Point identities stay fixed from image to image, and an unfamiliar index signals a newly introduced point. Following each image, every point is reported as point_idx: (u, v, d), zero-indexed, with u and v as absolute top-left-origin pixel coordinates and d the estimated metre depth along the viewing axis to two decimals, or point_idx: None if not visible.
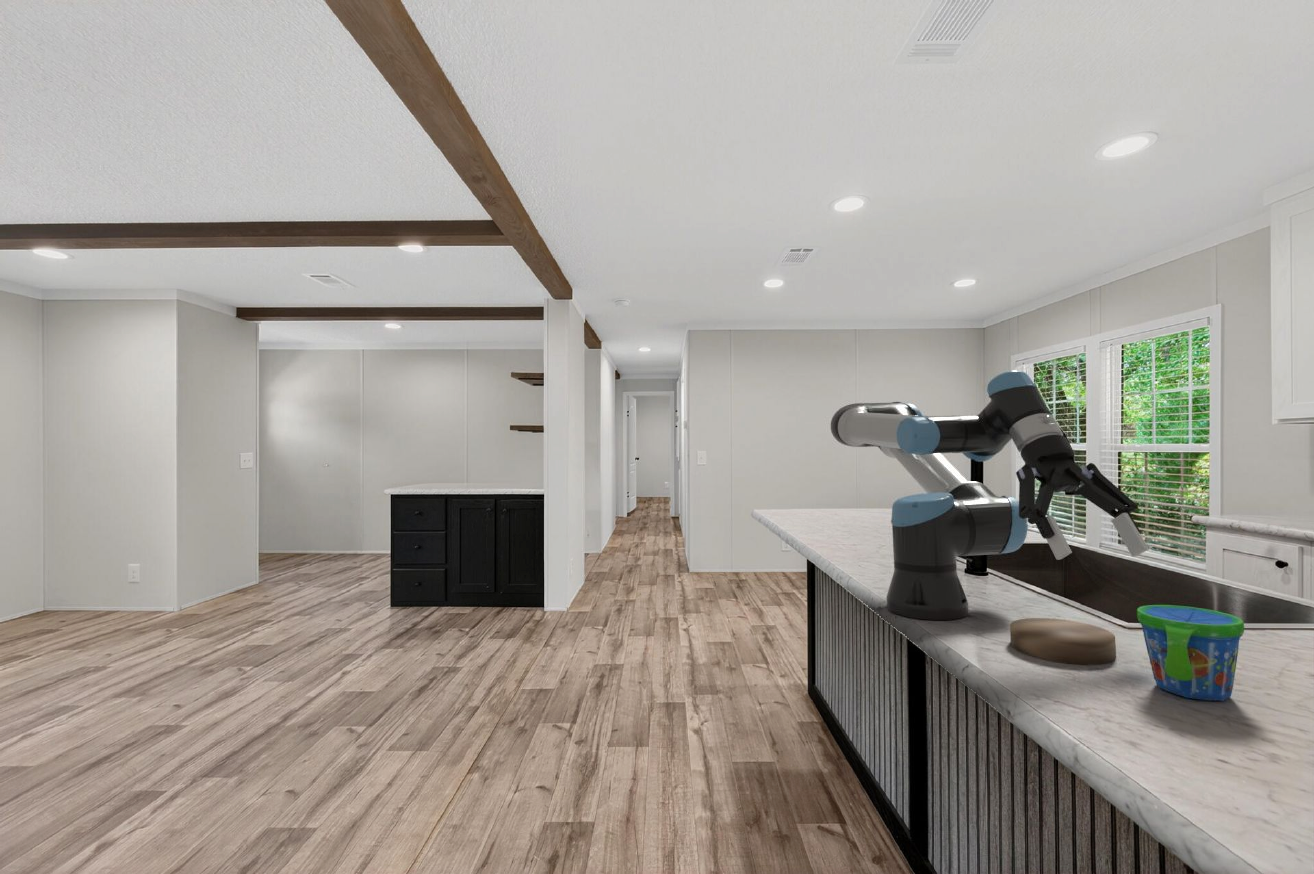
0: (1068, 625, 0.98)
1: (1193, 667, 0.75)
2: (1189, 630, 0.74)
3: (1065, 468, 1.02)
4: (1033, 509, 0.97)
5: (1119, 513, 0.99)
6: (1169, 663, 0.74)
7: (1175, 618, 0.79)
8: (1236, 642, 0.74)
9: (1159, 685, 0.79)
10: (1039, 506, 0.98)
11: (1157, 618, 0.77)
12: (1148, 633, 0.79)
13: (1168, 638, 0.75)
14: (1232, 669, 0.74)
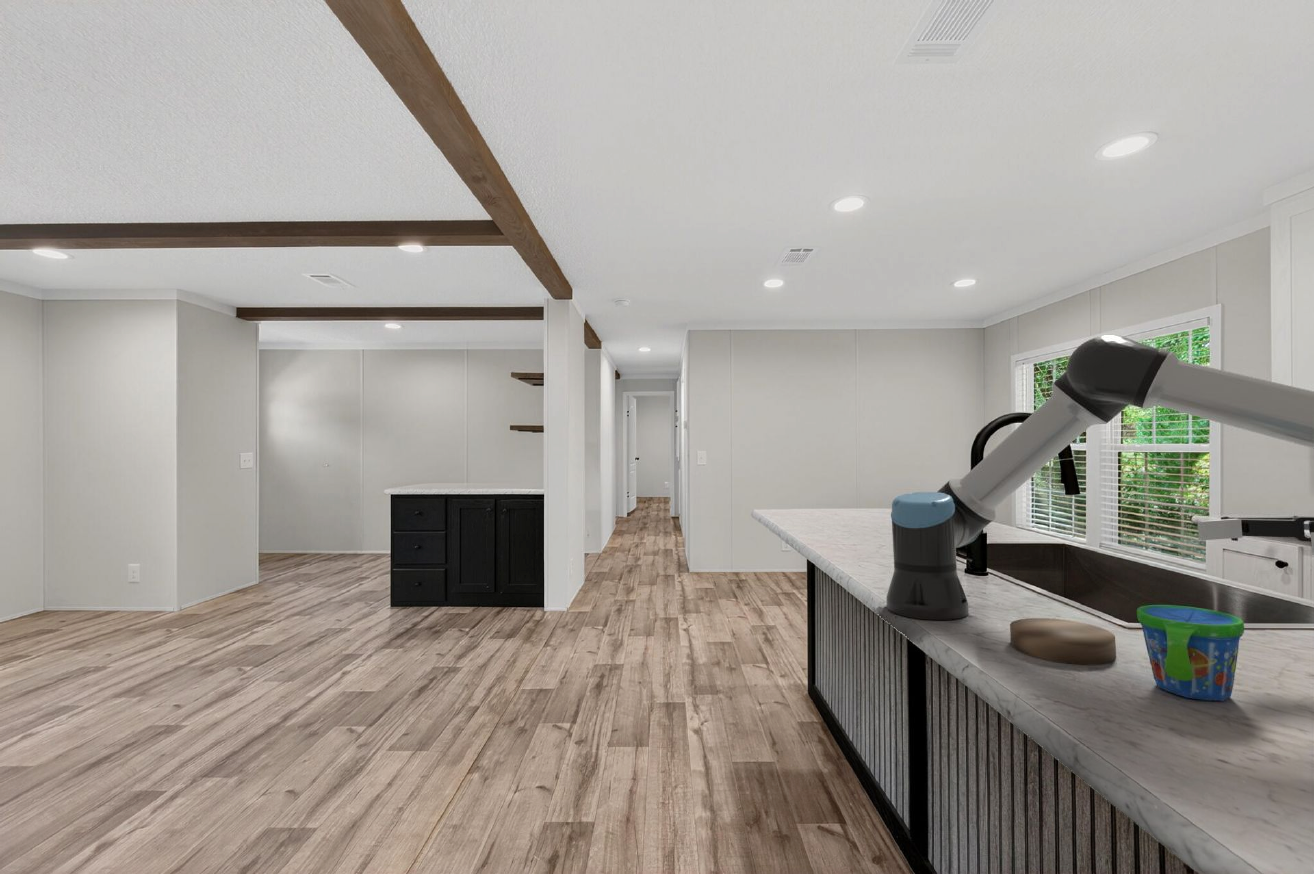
0: (1068, 625, 0.98)
1: (1193, 667, 0.75)
2: (1189, 630, 0.74)
3: None
4: None
5: None
6: (1169, 663, 0.74)
7: (1175, 618, 0.79)
8: (1236, 642, 0.74)
9: (1159, 685, 0.79)
10: None
11: (1157, 618, 0.77)
12: (1148, 633, 0.79)
13: (1168, 638, 0.75)
14: (1232, 669, 0.74)
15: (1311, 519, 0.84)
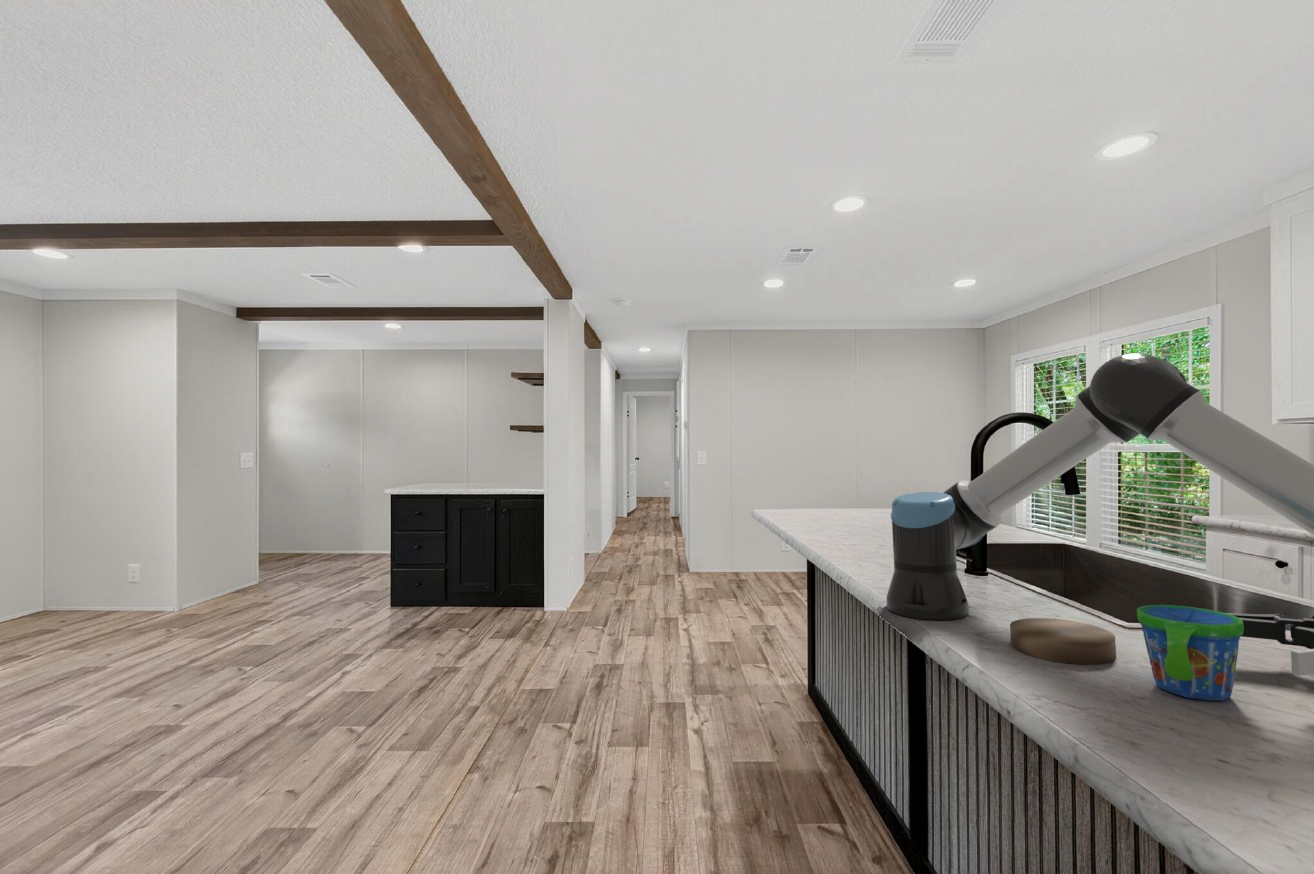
0: (1068, 625, 0.98)
1: (1193, 667, 0.75)
2: (1189, 630, 0.74)
3: None
4: None
5: None
6: (1169, 663, 0.74)
7: (1175, 618, 0.79)
8: (1236, 642, 0.74)
9: (1159, 685, 0.79)
10: None
11: (1157, 618, 0.77)
12: (1148, 633, 0.79)
13: (1168, 638, 0.75)
14: (1232, 669, 0.74)
15: (1292, 622, 0.83)
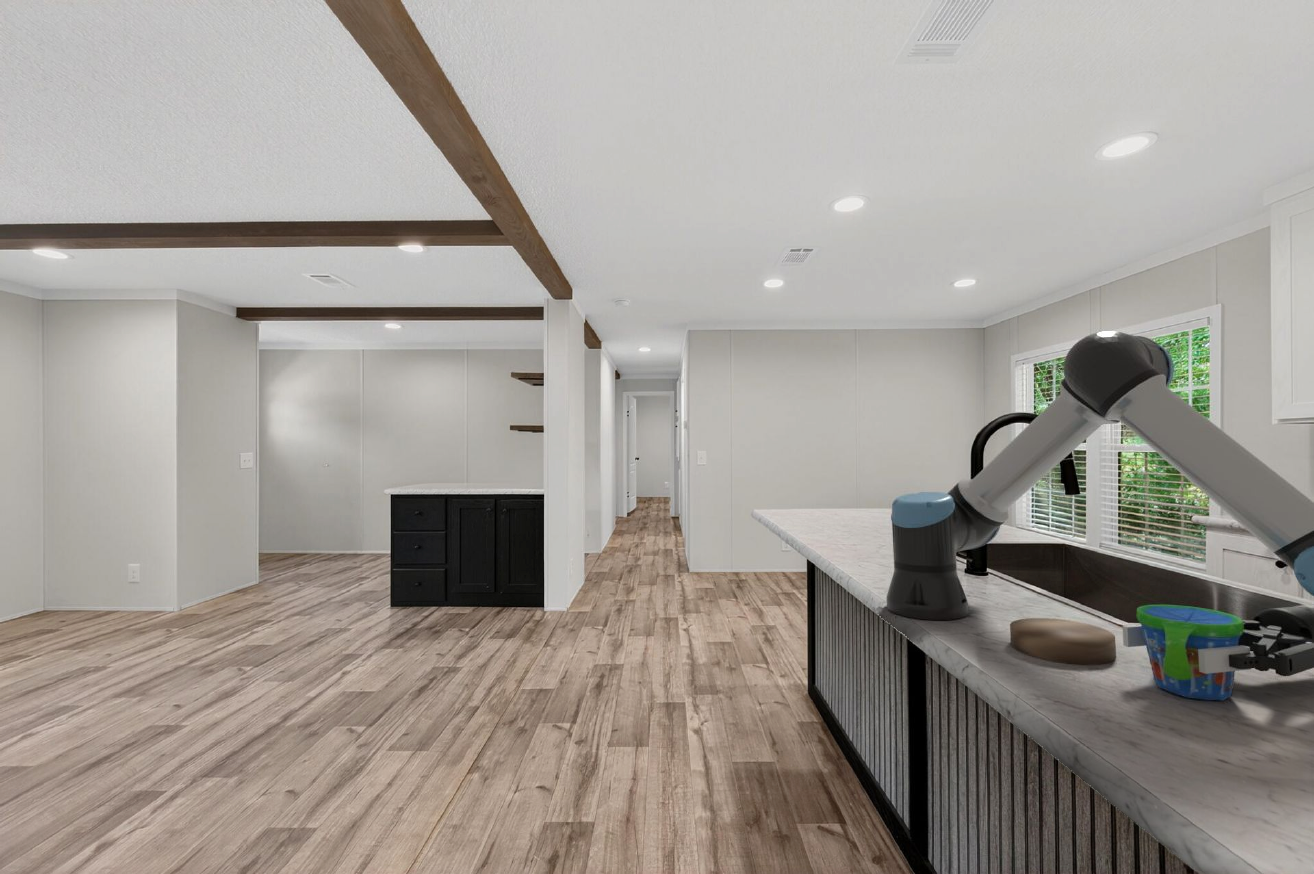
0: (1068, 625, 0.98)
1: (1192, 666, 0.75)
2: (1187, 629, 0.74)
3: None
4: None
5: None
6: (1168, 663, 0.74)
7: (1175, 618, 0.79)
8: (1235, 642, 0.74)
9: (1159, 685, 0.79)
10: None
11: (1156, 618, 0.77)
12: (1148, 633, 0.79)
13: (1166, 637, 0.75)
14: None
15: None
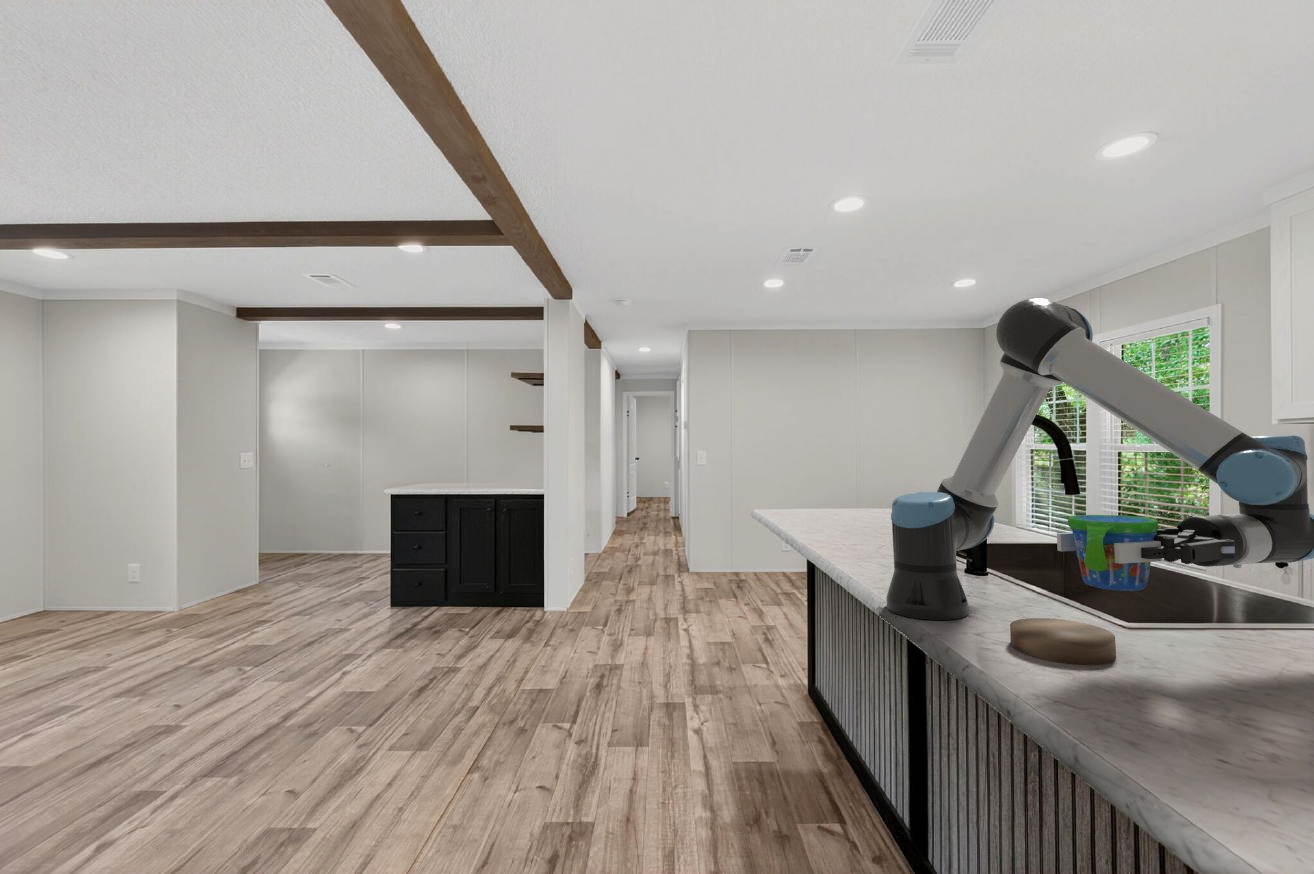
0: (1068, 625, 0.98)
1: (1111, 561, 0.85)
2: (1106, 527, 0.84)
3: None
4: (1183, 562, 0.81)
5: None
6: (1088, 556, 0.84)
7: None
8: (1149, 538, 0.84)
9: (1085, 581, 0.89)
10: None
11: (1081, 520, 0.87)
12: (1076, 536, 0.89)
13: (1088, 535, 0.84)
14: (1145, 563, 0.84)
15: (1157, 531, 0.91)
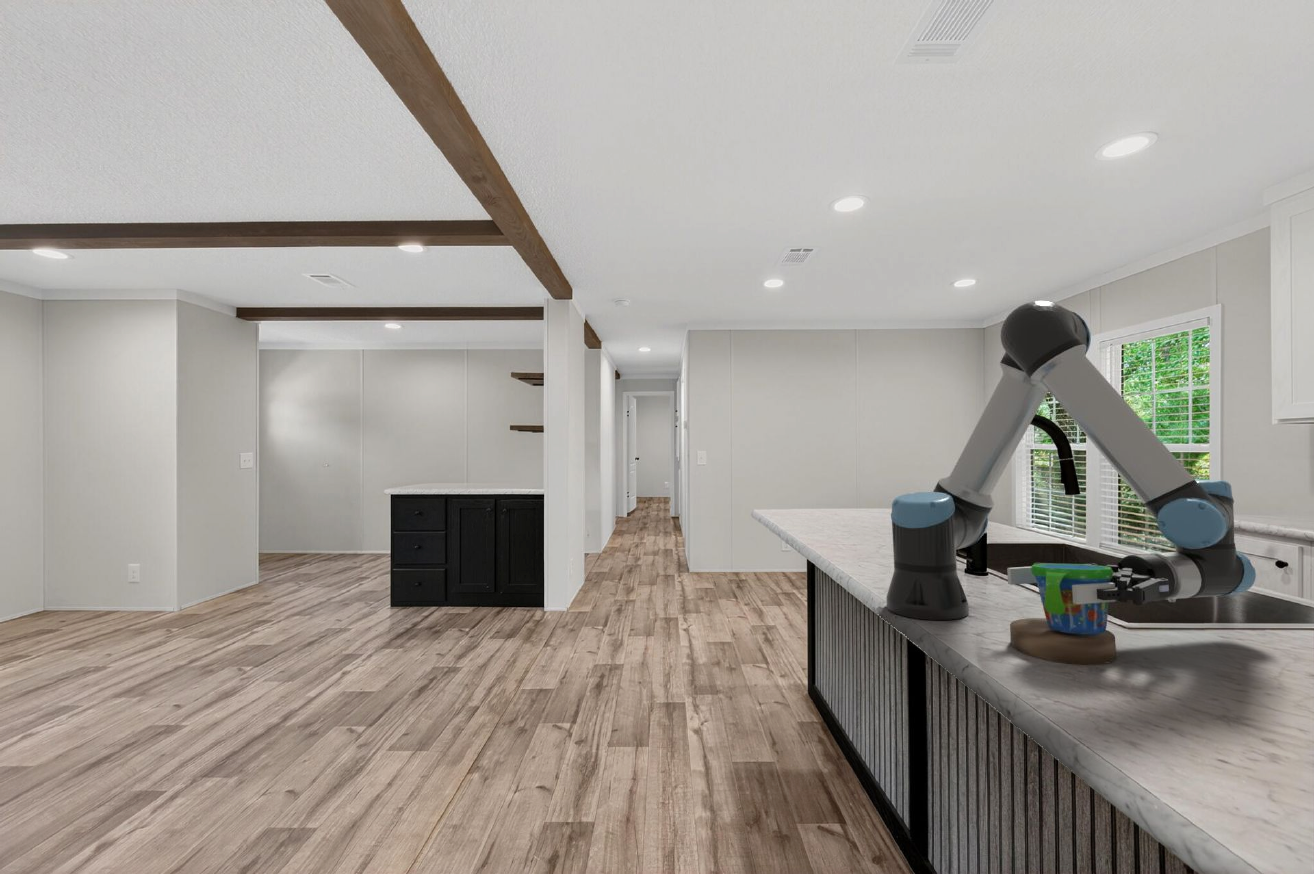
0: None
1: (1070, 605, 0.91)
2: (1062, 573, 0.91)
3: None
4: (1135, 603, 0.87)
5: None
6: (1047, 600, 0.90)
7: None
8: None
9: (1049, 626, 0.95)
10: None
11: (1042, 567, 0.94)
12: (1038, 582, 0.96)
13: (1046, 580, 0.91)
14: (1102, 607, 0.90)
15: None
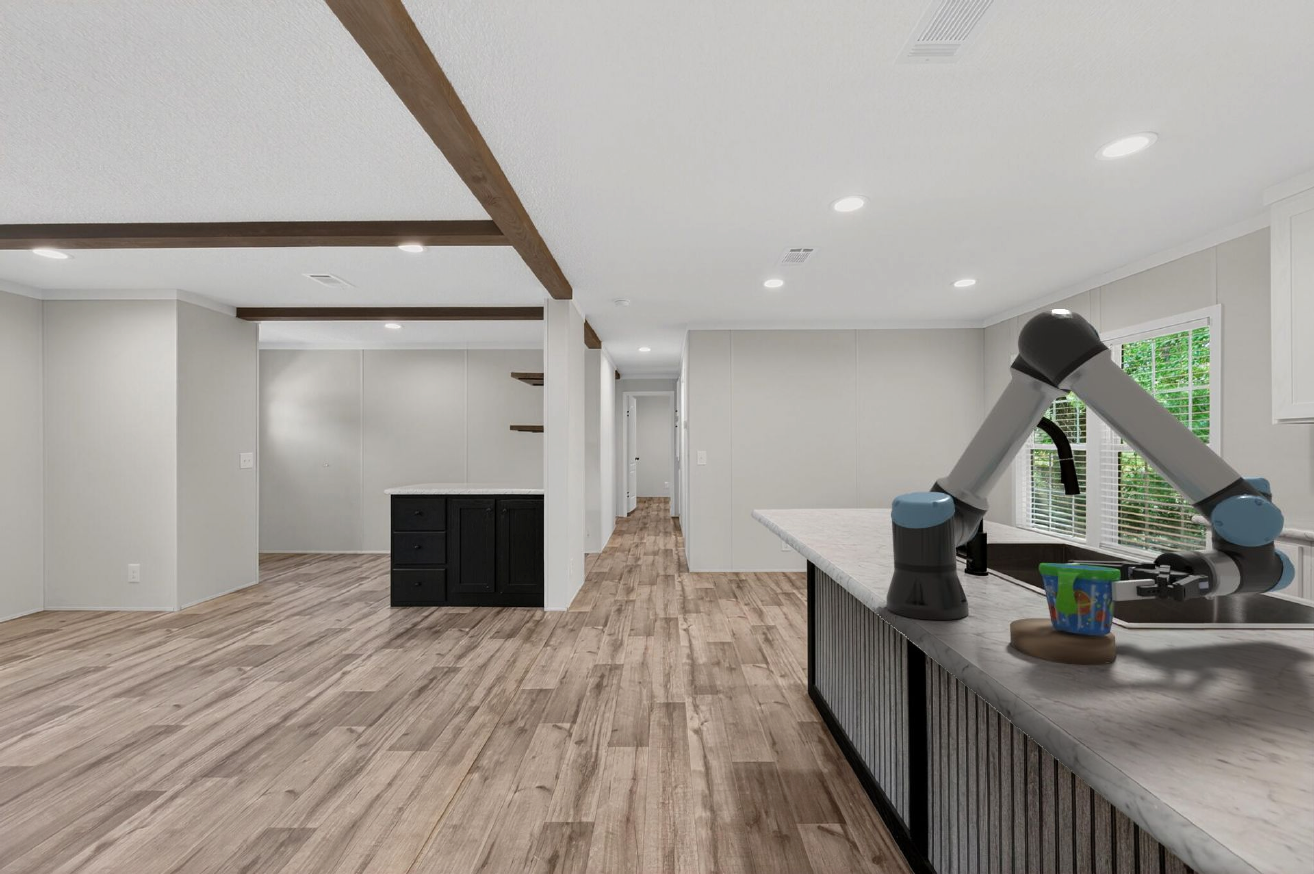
0: None
1: (1079, 605, 0.90)
2: (1075, 573, 0.90)
3: None
4: None
5: None
6: (1059, 600, 0.89)
7: None
8: None
9: (1054, 626, 0.94)
10: None
11: (1052, 566, 0.93)
12: (1046, 581, 0.95)
13: (1059, 579, 0.90)
14: (1110, 609, 0.90)
15: (1134, 565, 1.00)
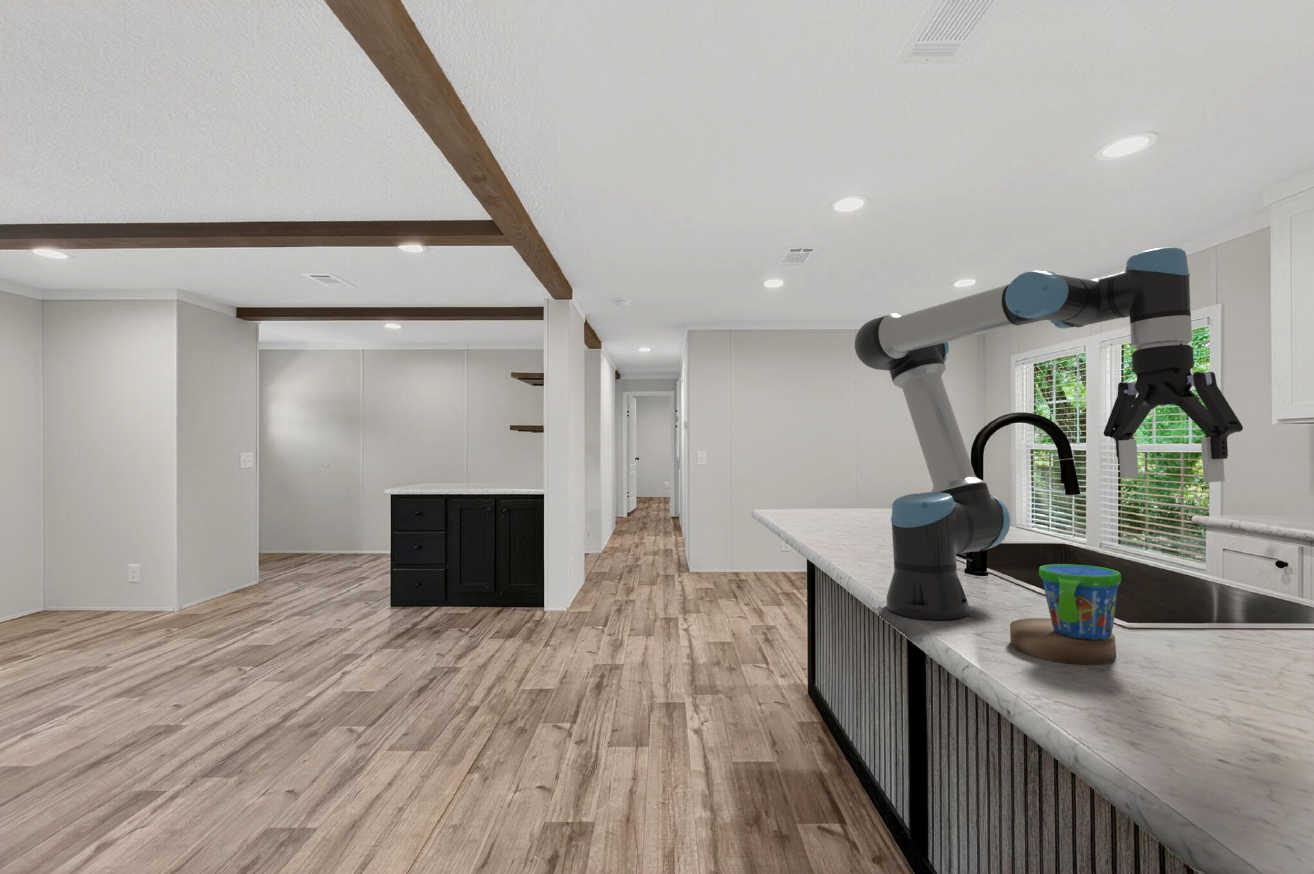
0: None
1: (1080, 612, 0.90)
2: (1076, 581, 0.89)
3: None
4: None
5: (1125, 437, 1.02)
6: (1061, 609, 0.89)
7: (1069, 573, 0.94)
8: (1114, 590, 0.89)
9: (1055, 630, 0.94)
10: None
11: (1053, 573, 0.92)
12: (1047, 586, 0.94)
13: (1060, 588, 0.89)
14: (1111, 613, 0.90)
15: (1143, 401, 0.97)
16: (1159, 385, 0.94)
